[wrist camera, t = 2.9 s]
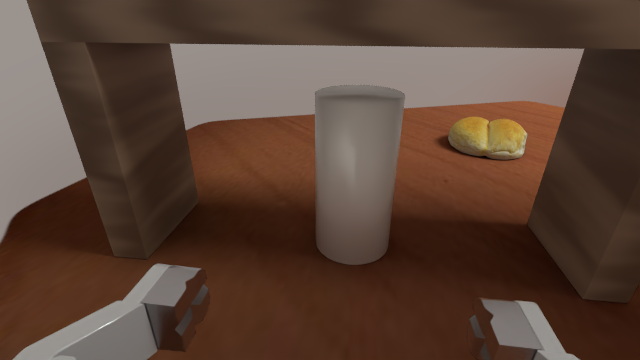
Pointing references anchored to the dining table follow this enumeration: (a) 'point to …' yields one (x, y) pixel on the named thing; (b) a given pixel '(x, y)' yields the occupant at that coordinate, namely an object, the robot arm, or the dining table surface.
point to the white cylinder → (356, 170)
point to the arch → (351, 30)
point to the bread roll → (488, 138)
